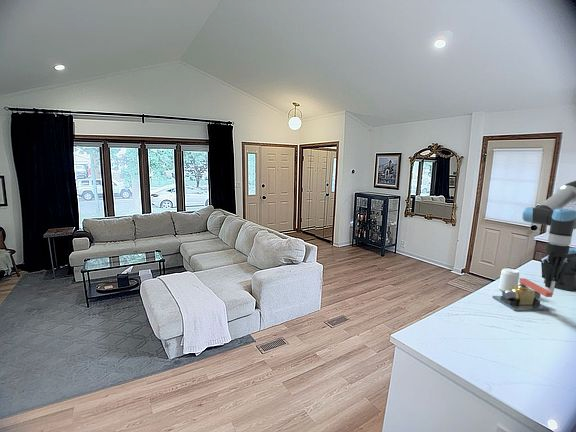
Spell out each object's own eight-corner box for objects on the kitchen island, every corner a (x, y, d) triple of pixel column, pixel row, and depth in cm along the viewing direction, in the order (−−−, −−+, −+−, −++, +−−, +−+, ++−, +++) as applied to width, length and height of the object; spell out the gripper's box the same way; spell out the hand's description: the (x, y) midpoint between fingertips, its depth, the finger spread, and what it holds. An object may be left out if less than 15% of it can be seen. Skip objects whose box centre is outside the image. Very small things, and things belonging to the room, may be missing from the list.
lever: (518, 284, 151) (519, 278, 150) (523, 284, 150) (525, 278, 150) (545, 299, 134) (546, 292, 133) (551, 300, 133) (552, 292, 133)
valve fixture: (524, 297, 159) (527, 280, 157) (548, 310, 145) (552, 292, 143) (492, 297, 157) (495, 280, 155) (514, 310, 143) (517, 292, 142)
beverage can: (519, 294, 163) (523, 273, 161) (504, 293, 163) (508, 272, 161) (509, 288, 171) (512, 268, 169) (495, 287, 171) (498, 267, 169)
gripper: (563, 241, 136) (553, 290, 140) (537, 241, 135) (528, 290, 139) (580, 246, 129) (569, 297, 133) (553, 245, 128) (543, 297, 132)
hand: (548, 293), depth 136 cm, fingers closed
